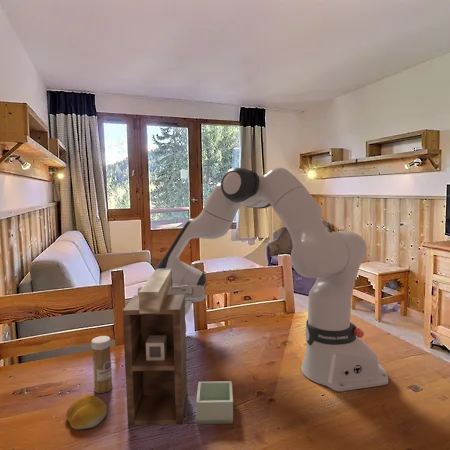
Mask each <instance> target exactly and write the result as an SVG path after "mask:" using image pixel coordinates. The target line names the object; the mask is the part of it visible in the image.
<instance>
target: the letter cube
mask: <svg viewBox="0 0 450 450" xmlns="http://www.w3.org/2000/svg"><path fill="white" fill-rule="evenodd" d="M166 354H167V335H149V338H148V340H147V342H146V361H148V360H165V357H166Z"/></svg>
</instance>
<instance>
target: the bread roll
mask: <svg viewBox="0 0 450 450" xmlns="http://www.w3.org/2000/svg"><path fill="white" fill-rule="evenodd" d="M107 406H108V405H107V404H106V403H105V402H104V401H103V400H102V399H101V398H100V397H99V396H96V395H92V394H87V395H83V396H81V397H79V398H77V399H76V400H74V401H73V402H72V403H71V404H70V405H69V407H68V408H67V409H66V416H65V417H66V420H67V421H68V422H69V424H70V427H71V428H72V429H74V430H83V429H84V430H85V429H86V430H87V429H91V428H93V427H95V426H97V425H99V424H100V423H101V422H103V420H104V419H105V417H106V416H107V413H108V407H107Z"/></svg>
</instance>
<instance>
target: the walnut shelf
mask: <svg viewBox="0 0 450 450" xmlns="http://www.w3.org/2000/svg"><path fill="white" fill-rule="evenodd" d="M122 324H123V325H122V326H123V328H122V329H123V346H124V347H123V348H124V349H123V350H124V366H125V368H124V369H125V370H124V371H125V372H124V373H125V391H126V394H125V395H126V413H127V426H157V425H162V426H163V425H183V424H184V420H185V413H186V407H187V400H188V381H187V380H188V378H187V377H188V375H187V374H188V373H187V372H188V371H187V369H188V367H187V334H186V329H187V328H186V315H185V295H168V296H167V298H166V300H165V302H164V304H163V306H162V308H161V310H160V312H159V313H143V314H139V295H138V294H137V295H136V294H135V295H133V297H131V299H130V300H129V301H128V303H127V304H126V305H125V307H124V308H123V309H122ZM149 335H167V354H166V357H165V360H148V361H146V342H147V340H148V338H149Z"/></svg>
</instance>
